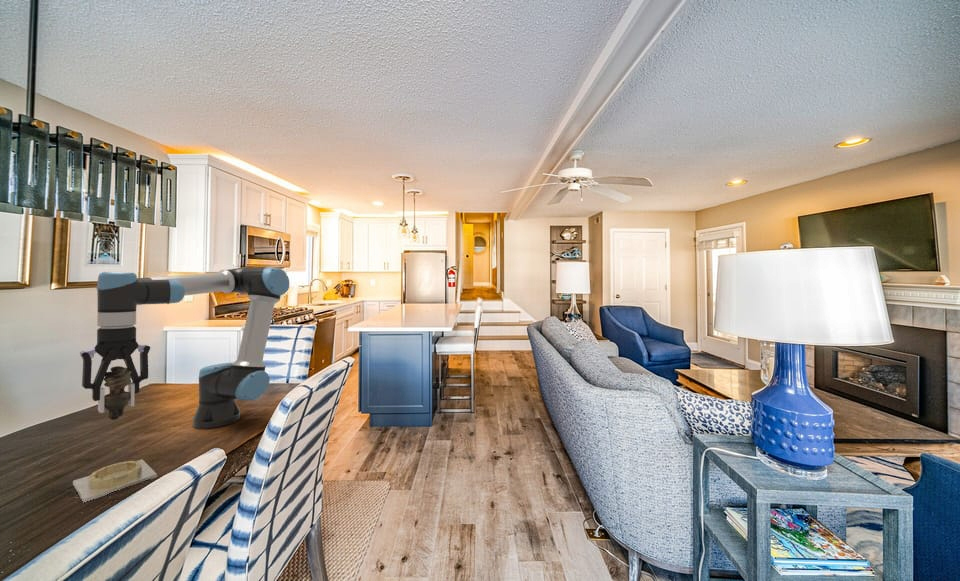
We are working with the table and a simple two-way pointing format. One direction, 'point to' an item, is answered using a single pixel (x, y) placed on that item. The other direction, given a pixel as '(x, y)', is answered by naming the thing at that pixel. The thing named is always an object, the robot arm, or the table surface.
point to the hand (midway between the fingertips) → (116, 408)
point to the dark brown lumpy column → (117, 391)
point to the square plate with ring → (112, 479)
